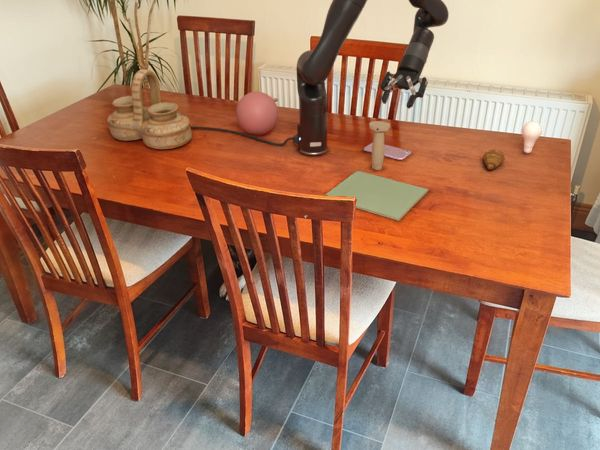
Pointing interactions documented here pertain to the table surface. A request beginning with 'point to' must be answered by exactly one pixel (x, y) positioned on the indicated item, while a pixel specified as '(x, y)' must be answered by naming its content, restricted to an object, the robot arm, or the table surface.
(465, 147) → the table surface
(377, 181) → the mat
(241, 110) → the balloon
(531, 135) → the lightbulb
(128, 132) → the ceramic vessel
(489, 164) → the croissant
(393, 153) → the mobile phone
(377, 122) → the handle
